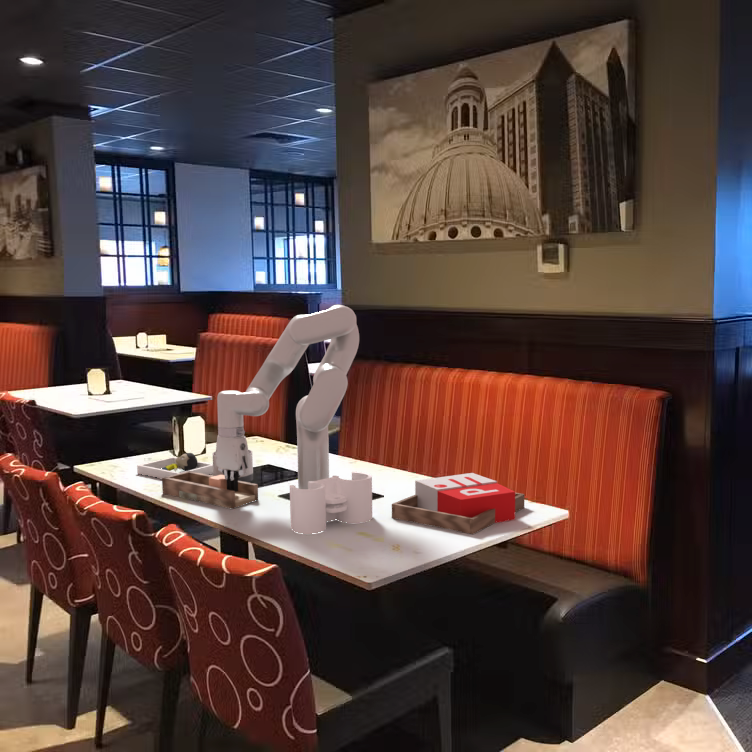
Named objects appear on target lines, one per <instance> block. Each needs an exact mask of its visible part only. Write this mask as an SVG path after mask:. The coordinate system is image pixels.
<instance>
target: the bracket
mask: <svg viewBox="0 0 752 752" xmlns="http://www.w3.org/2000/svg"><path fill="white" fill-rule="evenodd" d="M289 509H290V510H289V511H290V513H289V514H290V530H291V529H293V530H292V531H293V532H294V531H295V532H298V533H303V534H312V533H318V532H321V531H324V530H325V529H326V530H327V523H328V522H327V521H331V520H335V519H337V520H339V521H342V522H347V523H346V524H350V523H356V524H361V523H360V522H364V523H367V522H366V521H368V522H370V521H372V520H371V519H373V475H372V474H371V473H367V472H362V471H361V472H359V471H352V472H351V479H345V478H340V476H339V475H332V476H331V477H329V478H327V479H322V480H317V481H309V482H308V489H298V487H296V485H295V484H291V485H289ZM337 520H335V521H337ZM369 520H370V521H369ZM339 521H338V522H339ZM326 522H327V523H326ZM331 522H332V521H331ZM342 522H341V523H342ZM326 530H325V531H326ZM325 531H324V532H325ZM295 532H294V533H295ZM303 534H302V535H303Z"/></svg>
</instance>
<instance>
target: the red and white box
mask: <svg viewBox="0 0 752 752" xmlns="http://www.w3.org/2000/svg"><path fill="white" fill-rule="evenodd" d="M414 482H415V483H414V485H415V487H414V491H415V492H414V493H415V494H416V495H417V508H422V509H427V510H433V511H438V512H443V513H449V514H454V515H459V516H464V517H470V518H472V517H474V516H477V515H479V514H481V513H483V512H485V511H487V510H489V509H495V523H494V524H497V523H503V522H509V521H515V520H516V512H515V493H516V491H515V490H512V489H510V488H508V487H506V486H504V485H502V484H499V483H498V481H497V480H494V479H491V478H488V477H485V476H482V475H480V474H477V473H474V472H470V473H468V472H467V473H462V474H454V475H447V476H441V477H440V476H438V477H433V478H426V479H425V478H424V479H417V480H415V481H414ZM415 494H414V495H415Z"/></svg>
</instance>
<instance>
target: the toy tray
mask: <svg viewBox="0 0 752 752" xmlns="http://www.w3.org/2000/svg"><path fill="white" fill-rule="evenodd" d="M177 458H178V456H171V457H168V458H163V459H158V460H155V461H150V462H145V463H141V464H137V466H136V469H137V473H138V475H141V474H143V475H142V476H145V475H148V476H147V477H150V476H153V477H152V478H155V477H157V478H156V479H160V478H161V480H162V478H163V477H167V476H171V475H175V474H179V473H183V472H187V471H181V472H178V471H176V472H175V471H174V470H173V471H172V470H171V471H168V470H163V469H161V468H164V467H166V466H168V465H171V464H176V459H177ZM165 465H166V466H165ZM189 471H192V472H197V473H202V474H207V475H209V474H210V475H213V463H210V462H205V461H204V462H203V461H198V460H197V467H196V468H195V469H193V470H189Z"/></svg>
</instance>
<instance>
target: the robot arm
mask: <svg viewBox="0 0 752 752" xmlns="http://www.w3.org/2000/svg"><path fill="white" fill-rule="evenodd" d="M328 340H330V342H329V344H328V346H327V348H326V351H325V353H324V356H323V358H322V359H321V361H320V363H319V365H318V367H317V369H316V370H315V372H314V373H313V378H312V380H313V381H312V382H313V385H312V387H311V389H310V390H309V393H308V395H305V396H303V397H302V398H301V399H300V400H299V401H298V403H297V404H296V408H295V420H296V437H297V438H296V439H297V440H296V443H297V448H296V449H297V481H298V482H297V483H298V484H297V488H298V489H308V482H309V481H317V480H322V479H327V478H330V455H329V453H330V451H329V449H330V447H329V446H330V445H329V444H330V443H329V442H330V441H329V438H330V437H329V424H330V423H331V421H332V420H333V417H334V416H335V414H336V412H337V410H338V408H339V407H340V405H341V402H342V400H343V398H344V396H345V394H346V391H347V390H348V385H349V383H348V382H349V381H348V376H347V374H348V372H349V370H350V368H351V366H352V364H353V362H354V359H355V357H356V355H357V352H358V349H359V344H360V333H359V327H358V325H357V315H356V314H355V312H354V310H353V309H352V308H350V307H348V306H345V305H343V304H334V305H332V306H330V307H328V309H326V310H321V311H319V312H318V311H317V312H314V313H311V314H297V315H295V316H293V318H291V320H290V321H289V322H288V323H287V325H286V327H285V329H284V331H282V334H281V335H280V336H279V338H278V340H277V341H276V343H275V345H273V348H272V349H271V351H270V352H269V353H268V355H267V357H266V359H265V360H264V362H263V363H262V365H261V367H260V368H259V369H258V372H257V373H255V374H256V375H255V376H254V378H253V379H252V380H251V382H250V384H249V386H248V387H247V388H246V390H245V392H241V391H239V390H230V389H229V390H221V391H220V392H218V394H217V400H216V401H217V403H216V404H217V430H218V431H217V432H218V433H217V434H218V435H217V438H216V443H215V444H216V445H215V452H216V465H217V466H218V470H219V471H221V472H223V474H224V476H225V479H227V490H232V491H235V492H237V491H238V479H239V478H240V476H241V475H244V474H246V469H247V468H249V452H248V450H249V447H248V446H249V445H248V440H247V437H246V436H245V433H246V431H245V429H244V426H245V425H244V424H245V423H244V416H250V417H259V416H262V415H265V414H266V413H267V411H268V410H269V408H270V398H271V397H272V395H273V394H274V392H275V391H276V389H277V388H278V386H279V385H280V383H281V382H282V381H283V380H284V379H285V378H286V377H287V376H289V375H290V374H291V373H292V371H293V370H295V368H296V366H297V365H298V363H299V361H300V359H301V358H302V356H303V355H304V354H305V352H306V351H307V349H308V347H309V346H310V345H312V344H317V343H320V342H325V341H328Z"/></svg>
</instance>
